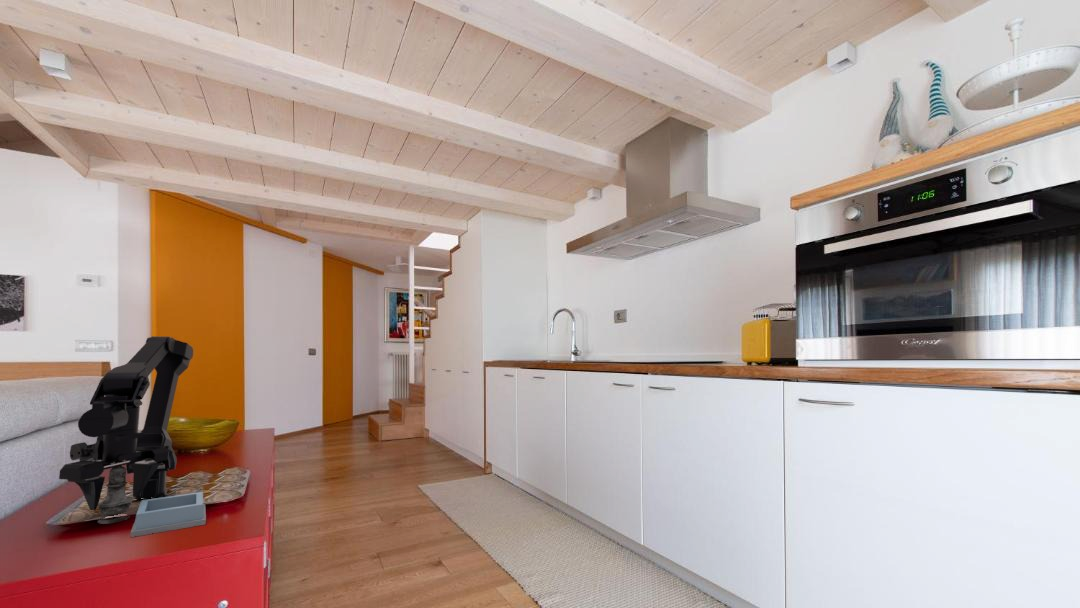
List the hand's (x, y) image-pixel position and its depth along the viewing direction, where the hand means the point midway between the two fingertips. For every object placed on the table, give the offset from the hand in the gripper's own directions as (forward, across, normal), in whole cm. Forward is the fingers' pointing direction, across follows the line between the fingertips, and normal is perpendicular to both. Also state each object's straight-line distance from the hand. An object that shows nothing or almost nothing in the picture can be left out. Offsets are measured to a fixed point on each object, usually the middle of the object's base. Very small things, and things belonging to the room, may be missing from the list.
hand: (115, 503), depth 103 cm
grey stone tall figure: (+4, 0, 0) cm, 4 cm away
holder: (+3, -1, +13) cm, 14 cm away
